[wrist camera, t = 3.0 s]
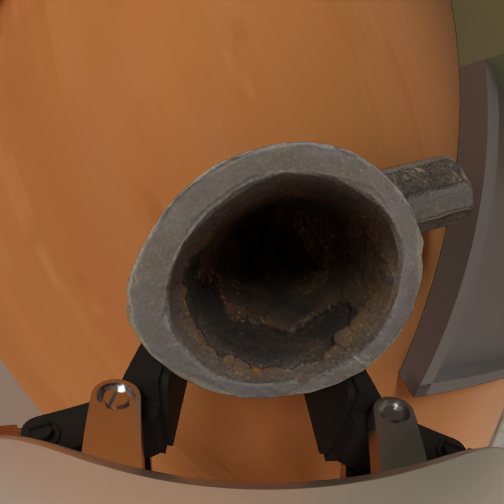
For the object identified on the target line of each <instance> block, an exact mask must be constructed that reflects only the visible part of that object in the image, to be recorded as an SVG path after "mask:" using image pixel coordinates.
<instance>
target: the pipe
mask: <svg viewBox="0 0 504 504" xmlns="http://www.w3.org/2000/svg"><path fill="white" fill-rule="evenodd" d="M472 193H473V190H472V186H471V183H470V182H469V180H468V179H467V177H466V176H465V174H464V172H463V170H462V168H461V167H460V166H459V165H458V163H456V162H455V161H454V160H453V159H452V158H450V157H448V156H440V157H434V158H429V159H424V160H419V161H415V162H411V163H407V164H403V165H399V166H395V167H391V168H387V169H384V170H379V169H378V168H377V167H375V166H374V165H373V164H371V163H370V162H368V161H367V160H365V159H364V158H362V157H360V156H359V155H357V154H355V153H353V152H352V151H349V150H346V149H343V148H339V147H336V146H332V145H328V144H323V143H312V142H292V143H280V144H273V145H269V146H266V147H262V148H258V149H255V150H251V151H248V152H244V153H242V154H239V155H237V156H234V157H232V158H229V159H227V160H224V161H222V162H219V163H218V164H216V165H214V166H213V167H211V168H210V169H208V170H207V171H206V172H204V173H203V174H202V175H201V176H199V177H198V178H197V179H195V180H194V181H193V182H191V183H190V184H189V185H188V186H187V187H186V188H185V189H184V190H183V191H181V192H180V193H179V194H178V195H177V196H176V197H175V198H174V199H173V200H172V202H171V203H170V204H169V205H168V207H167V208H166V209H165V211H164V212H163V213H162V215H161V216H160V218H159V219H158V221H157V223H156V224H155V226H154V227H153V229H152V230H151V232H150V234H149V236H148V238H147V240H146V241H145V243H144V245H143V247H142V249H141V252H140V254H139V256H138V258H137V260H136V262H135V264H134V267H133V269H132V272H131V274H130V277H129V279H128V285H127V294H128V301H127V308H126V309H127V316H128V317H129V322H130V325H131V326H133V328H134V330H135V332H136V334H137V336H138V338H139V340H140V342H141V343H142V344H143V346H144V347H145V348H146V349H147V351H148V352H149V353H150V354H151V356H152V357H154V358H155V359H156V360H158V361H159V362H160V363H162V364H163V365H164V366H165V367H167V368H168V369H169V370H171V371H172V372H173V373H175V374H176V375H178V376H179V377H181V378H183V379H185V380H187V381H189V382H191V383H193V384H195V385H197V386H199V387H202V388H204V389H206V390H208V391H212V392H215V393H220V394H227V395H234V396H237V397H241V398H272V397H279V396H286V395H294V394H302V393H310V392H314V391H317V390H320V389H323V388H326V387H329V386H332V385H335V384H338V383H340V382H342V381H344V380H346V379H347V378H349V377H351V376H353V375H355V374H357V373H360V372H362V371H363V370H365V369H366V368H367V367H368V366H370V365H371V364H372V363H373V362H374V361H375V360H377V359H378V358H379V357H380V356H381V355H382V354H383V353H385V351H386V350H387V349H388V348H389V347H390V346H391V345H392V344H393V342H394V341H395V340H396V338H397V337H398V336H399V334H400V333H401V331H402V329H403V326H404V324H405V323H406V321H407V320H408V319H409V317H410V316H411V314H412V311H413V308H414V305H415V301H416V298H417V295H418V291H419V288H420V284H421V280H422V274H423V263H422V257H421V256H422V250H423V242H424V241H423V238H422V235H421V233H423V232H427V231H430V230H433V229H437V228H440V227H444V226H448V225H452V224H456V223H460V222H462V221H464V220H465V219H467V218H468V217H469V216H470V215H471V214H472V212H473V209H474V203H475V202H474V199H473V196H472Z"/></svg>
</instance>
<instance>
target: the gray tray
mask: <svg viewBox="0 0 504 504" xmlns="http://www.w3.org/2000/svg"><path fill="white" fill-rule="evenodd" d="M451 4H452V9H453V15H454V21H455V28H456V36H457V45H458V56H459V72H460V128H459V144H458V156H457V163H458V165H459V166H460V167H461V168H462V170H463V172H464V174H465V176H466V177H467V179H468V180H469V182H470V183H471V186H472V190H473V193H472V196H473V199H474V202H475V203H474V209H473V212H472V214H471V215H470V216H469V217H468V218H467V219H465V220H464V221H462V222H460V223H456V224H452V225H448V226H447V228H446V233H445V237H444V242H443V246H442V250H441V254H440V258H439V262H438V266H437V269H436V273H435V277H434V280H433V283H432V287H431V290H430V293H429V296H428V299H427V302H426V305H425V308H424V311H423V314H422V317H421V320H420V323H419V325H418V328H417V331H416V333H415V336H414V339H413V341H412V344H411V346H410V349H409V351H408V353H407V356H406V358H405V360H404V363H403V365H402V367H401V369H400V372H399V374H398V375H399V376H400V378H401V379H402V381H403V382H404V384H405V385H406V387H407V388H408V390H409V391H410V393H411V394H412V396H413V397H420V396H426V395H432V394H438V393H443V392H448V391H453V390H458V389H463V388H467V387H471V386H476V385H480V384H484V383H487V382H491V381H495V380H498V379H502V378H504V0H451Z"/></svg>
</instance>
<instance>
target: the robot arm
mask: <svg viewBox="0 0 504 504" xmlns="http://www.w3.org/2000/svg"><path fill="white" fill-rule="evenodd" d="M186 385H187V380H185V379H183V378H181V377H179V376H178V375H176V374H175V373H173V372H172V371H171V370H169V369H168V368H167V367H165V366H164V365H163V364H162V363H160V362H159V361H158V360H156V359H155V358H154V357H152V356H151V354H150V353H149V352H148V351H147V349H146V348H145V347H144V346H143V344H142V343H141V344H140V346H139V348H138V350H137V352H136V354H135V356H134V358H133V359H132V361H131V363H130V365H129V367H128V369H127V371H126V373H125V375H124V377H123V379H122V380H120V379H110V380H106V381H103V382H101V383H99V384H97V385H96V386H95V387H94V389H93V391H92V393H91V398H90V402H88V403H85V404H82V405H78V406H75V407H71V408H68V409H64V410H60V411H57V412H53V413H49V414H45V415H41V416H38V417H34V418H32V419H30V420H29V421H27V422H26V423H25V424H24V425H23V427H22V428H18V427H17V425H6V426H0V504H504V448H502V447H483V448H475V449H471V448H468V449H467V450H466V449H465V447H464V446H463V444H461V443H460V442H459V441H457V440H456V439H454V438H451V437H448V436H446V435H443V434H441V433H438V432H436V431H433V430H431V429H429V428H426V427H424V426H421V425H419V424H417V420H416V417H415V413H414V411H413V409H412V407H411V406H410V405H409V404H408V403H407V402H405V401H403V400H401V399H399V398H395V397H383V398H381V396H380V394H379V393H378V391H377V389H376V387H375V385H374V384H373V382H372V380H371V378H370V376H369V375H368V373H367V371H366V369H365V370H363V371H362V372H360V373H357V374H355V375H353V376H351V377H349V378H347V379H346V380H344V381H342V382H340V383H338V384H335V385H332V386H329V387H326V388H323V389H320V390H317V391H314V392H310V393H304V395H305V399H306V403H307V407H308V411H309V415H310V419H311V423H312V426H313V430H314V434H315V438H316V442H317V446H318V450H319V453H320V454H324V457H325V461H338V462H340V463H341V470H340V479H331V480H321V481H309V482H289V483H250V482H230V481H217V480H207V479H198V478H191V477H183V476H177V475H171V474H165V473H160V472H155V471H152V459H151V457H152V456H155V455H157V454H159V453H166V448H167V445H170V446H173V443H174V439H175V434H176V430H177V425H178V420H179V416H180V411H181V407H182V403H183V398H184V394H185V390H186Z"/></svg>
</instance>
